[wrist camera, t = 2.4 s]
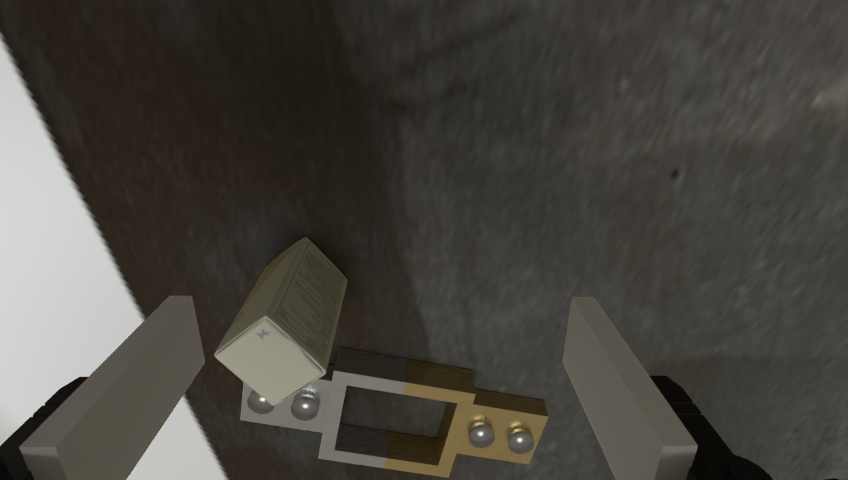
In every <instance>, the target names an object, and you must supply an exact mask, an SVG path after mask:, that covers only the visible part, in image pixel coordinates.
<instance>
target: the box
mask: <svg viewBox="0 0 848 480" xmlns="http://www.w3.org/2000/svg"><path fill="white" fill-rule="evenodd" d="M347 283H348V280H347V279H346V277H345V276H344V275H343V274H342V273H341V272H340V271H339V270H338V268H337V267H336V266H335V265H334V264H333V263H332V262H331V261H330V260H329V259H328V258H327V257H326V256H325V255H324V254H323V253H322V252H321V251H320V250H319V249H318V247H316V246H315V245H314V244H313V243H312V242H311V241H310V240H309V239H308V238H307V237H303V238H302V239H301V240H299V241H298V242H296V243H295V244H293V245H292V246H291V247H289V248H288V249H287V250H285V251H284V252H283V253H281V254H280V255H279V256H277V257H276V258H275V259H274V260H272V261H271V262H270V263H269V264H268V265H267V266H266V267H265V269H264V271H263V273H262V274H261V276H260V278H259V279H258V281H257V283H256V284H255V286H254V288H253V290H252V291H251V293H250V295H249V296H248V298H247V300H246V301H245V303H244V305H243V306H242V308H241V310H240V311H239V313H238V315H237V316H236V318H235V320H234V321H233V323H232V325H231V326H230V328H229V330H228V331H227V333H226V335H225V336H224V338H223V340H222V342H221V343H220V345H219V347H218V348H217V350H216V352H215V354H214V356H215V357H216V358H217V359H218V360H219V361H220V362H221V363H223V364H224V365H225V366H226V367H227V368H228V369H229V370H231V371H232V372H233V373H234V374H235V375H236V376H237V377H239V378H240V379H241V380H242V381H243V382H244V383H246V384H247V385H248V386H249V387H250V388H252V389H253V390H254V391H255V392H257V393H258V394H259V395H260V396H261V397H263V398H264V399H265V400H266V401H267V402H269V403H270V404H271V405H272V406H275V405H277V404H279V403H281V402H282V401H284V400H286V399H287V398H289V397H290V396H292V395H294V394H296V393H297V392H299V391H300V390H302V389H303V388H305V387H307V386H308V385H310V384H311V383H313V382H314V381H316V380H318V379H319V378H321V377H322V376H324V375H325V374H326V371H327V366H328V362H329V358H330V353H331V349H332V345H333V341H334V337H335V332H336V328H337V324H338V320H339V315H340V311H341V307H342V303H343V299H344V295H345V291H346V287H347Z"/></svg>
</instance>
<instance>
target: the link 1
mask: <svg viewBox="0 0 848 480" xmlns="http://www.w3.org/2000/svg"><path fill="white" fill-rule="evenodd" d="M406 364H407V359H405V358H399V357H393V356H387V355H381V354H376V353H370V352H364V351H358V350H352V349H346V348H339V352H338V356H337V360H336V364H335V365H330V364H328V366H327V371H326V374H325V375H324V376H322V377H321V378H319V379H318V380H316V381H314V382H313V383H311V384H310V385H308V386H307V387H305V388H303V389H302V390H300V391H299V392H297V393H296V394H294V395H292V396H290V397H289V398H287V399H286V400H284V401H282V402H281V403H279V404H277V405H275V406H272V405H271V404H270V403H269V402H267V401H266V400H265V399H264V398H263V397H261V396H260V395H259V394H258V393H257V392H255V391H254V390H253V389H252V388H250V387H249V386H248V385H247V384H246V383H244V384H243V395H242V406H241V418H240V420H243V421H250V422H256V423H263V424H269V425H276V426H282V427H289V428H295V429H302V430H308V431H315V432H321V433H323V434H322V440H321V445H320V451H319V457H318V458H319V459H325V460H332V461H339V462H346V463H352V464H359V465H366V466H373V467H379V468H384V467H385V463H386V459H387V447H388V434H389V431H384V430H377V429H371V428H364V427H358V426H351V425H345V424H340V419H341V414H342V409H343V403H344V398H345V393H346V388H347V385H349V386H355V387H361V388H367V389H373V390H379V391H385V392H391V393H398V394H403V392H404V388H405V384H406Z"/></svg>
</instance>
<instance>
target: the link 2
mask: <svg viewBox="0 0 848 480" xmlns="http://www.w3.org/2000/svg"><path fill="white" fill-rule="evenodd" d="M403 394H404V395H410V396H416V397H422V398H428V399H434V400H440V401H446V402H448V403H447V407H446V410H445V413H444V417H443V420H442V423H441V427H440V430H439V433H438V436H437V439H435V438H429V437H422V436H416V435H409V434H403V433H396V432H390V431H389V434H388V447H387V459H386V463H385V467H384V468H386V469H393V470H400V471H406V472H413V473H420V474H427V475H433V476H440V477H447V478H448V477H449V474H450V471H451V468H452V465H453V462H454V459H455V456H456V453H458V454H465V455H471V456H478V457H484V458H491V459H497V460H504V461H510V462H517V463H523V464H529V463H530V461H531V458H532V456H533V453H534V451H535V449H536V446H537V444H538V441H539V439H540V436H541V434H542V432H543V429H544V427H545V424H546V422H547V419H548V417H549V416H548V413H547V411H546V408H545V405H544V402H543V400H539V399H533V398H527V397H521V396H515V395H509V394H503V393H497V392H491V391H485V390H479V389H475V386H474V380H473V374H472V370H469V369H463V368H457V367H451V366H446V365H440V364H434V363H428V362H422V361H416V360H411V359H407V364H406V384H405V388H404V392H403Z"/></svg>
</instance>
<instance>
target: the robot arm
mask: <svg viewBox="0 0 848 480" xmlns="http://www.w3.org/2000/svg"><path fill="white" fill-rule="evenodd" d="M204 363H205V359H204V354H203V349H202V344H201V339H200V334H199V329H198V324H197V319H196V314H195V309H194V304H193V299H192V296H169V297H168V298H167V299H166V300H165V301H164V302H163V303H162V304H161V305H160V306H159V307H158V308H157V309H156V310H155V311H154V312H153V313H152V314H151V315H150V316H149V317H148V318H147V319H146V320H145V321H144V322H143V323H142V324H141V325H140V326H139V327H138V328H137V329H136V330H135V331H134V332H133V333H132V334H131V335H130V336H129V337H128V338H127V339H126V340H125V341H124V342H123V343H122V344H121V345H120V346H119V347H118V348H117V349H116V350H115V351H114V352H113V353H112V354H111V355H110V356H109V357H108V358H107V359H106V360H105V361H104V362H103V363H102V364H101V365H100V366H99V367H98V368H97V369H96V370H95V371H94V372H93V373H92V374H91V375H90V376H89V377H79V378H77V379H75V380H74V381H72V382H71V383H69V384H67V385H66V386H64V387H62V388H61V389H59V390H58V391H57V392H56V393H55V394H54V395H53V396H52V397H51V398H50V399H49V400H48V401H47V402H46V403H45V406H42V407H40V408H39V409H38V410H37V411H36V412H35V413H34V414H33V417H30V418H29V419H28V420H27V421H26V422H25V423H24V424H23V425H22V426H21V427H20V428H19V429H18V430H16V431H15V432H14V433H13V434H12V435H11V436H10V437H9V438H8V439H7V440H6V441H5V442H4V443H3V444H2V445H1V446H0V480H126V479H127V477H128V476H129V475H130V473H131V472H132V470H133V469H134V467H135V466H136V464H137V462H138V461H139V460H140V458H141V457H142V455H143V454H144V452H145V451H146V449H147V448H148V446H149V445H150V443H151V442H152V440H153V439H154V437H155V436H156V435H157V433H158V431H159V430H160V429H161V427H162V426H163V424H164V423H165V421H166V420H167V418H168V417H169V415H170V414H171V412H172V411H173V409H174V408H175V406H176V405H177V403H178V402H179V400H180V399H181V397H182V396H183V394H184V393H185V391H186V390H187V389H188V387H189V386H190V384H191V383H192V381H193V380H194V378H195V377H196V375H197V374H198V372H199V371H200V369H201V368H202V366H203V365H204ZM562 363H563V365H564V367H565V369H566V372H567V374H568V376H569V378H570V380H571V382H572V385H573V387H574V389H575V391H576V393H577V396H578V398H579V400H580V402H581V404H582V407H583V409H584V411H585V413H586V415H587V418H588V420H589V422H590V424H591V426H592V429H593V431H594V433H595V435H596V437H597V439H598V442H599V444H600V446H601V448H602V450H603V453H604V455H605V457H606V459H607V461H608V464H609V466H610V468H611V470H612V472H613V475H614V477H615V479H616V480H773V479H772V478H771V476H770V475H769V474H768V473H767V472H765V471H764V470H763V469H762V468H761V467H760V466H758V465H756V464H755V463H753V462H751V461H749V460H748V459H745V458H742V457H739V456H736V455H734V454H733V453H732V452H731V450H730V449H729V448H728V446H727V445H726V444H725V443H724V441H723V440H722V439H721V437H720V436H719V435H718V434H717V432H716V431H715V430H714V428H713V427H712V426H711V424H710V423H709V422H708V421H707V419H706V418H705V417H704V415H701V412H700V410H699V409H698V408H697V406H696V405H695V404H693V401H692V400H691V399H690V397H689V396H688V395H687V393H686V392H685V391H684V390H683V388H682V387H680V386H679V385H678V384H676V383H675V382H674V381H672V380H671V379H670V378H668V377H667V376H649V375H648V374H647V372H646V371H645V369H644V368H643V366H642V365H641V364H640V362H639V361H638V359H637V358H636V356H635V355H634V354H633V352H632V351H631V349H630V348H629V346H628V345H627V344H626V342H625V341H624V339H623V338H622V336H621V335H620V334H619V332H618V331H617V329H616V328H615V327H614V325H613V324H612V322H611V321H610V319H609V318H608V317H607V315H606V314H605V312H604V311H603V309H602V308H601V307H600V305H599V304H598V302H597V301H596V299H595V298H594V297H572V300H571V307H570V313H569V320H568V327H567V334H566V341H565V348H564V355H563V362H562ZM826 480H839V479H826Z"/></svg>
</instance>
